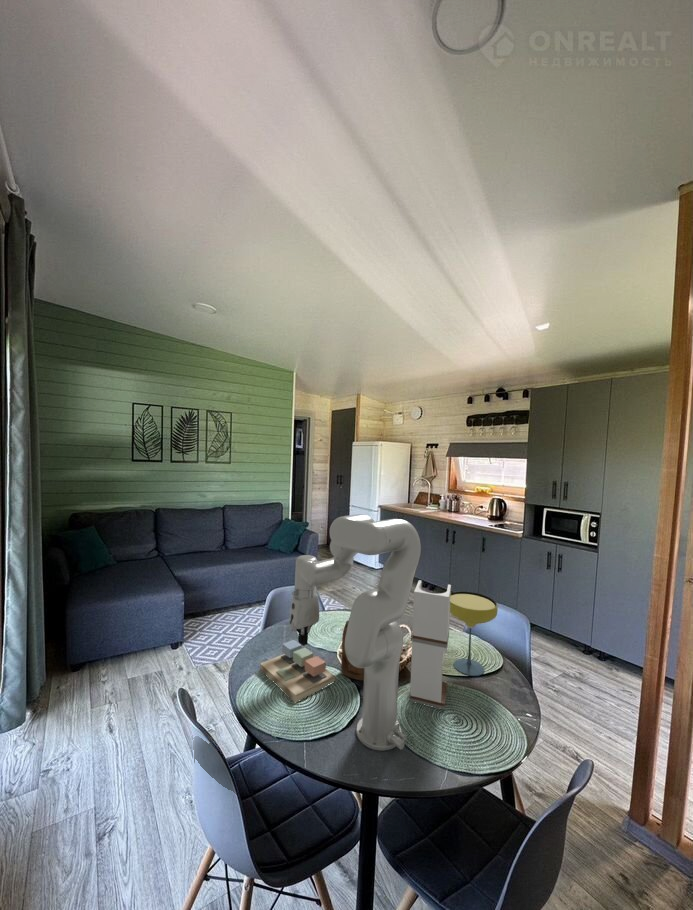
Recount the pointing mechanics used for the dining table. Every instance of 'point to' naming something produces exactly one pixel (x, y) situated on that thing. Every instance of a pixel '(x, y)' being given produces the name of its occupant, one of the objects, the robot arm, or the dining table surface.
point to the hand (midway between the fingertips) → (302, 643)
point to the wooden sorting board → (294, 677)
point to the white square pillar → (429, 646)
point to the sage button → (302, 656)
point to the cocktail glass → (471, 622)
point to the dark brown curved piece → (346, 665)
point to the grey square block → (290, 648)
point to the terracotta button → (315, 666)
